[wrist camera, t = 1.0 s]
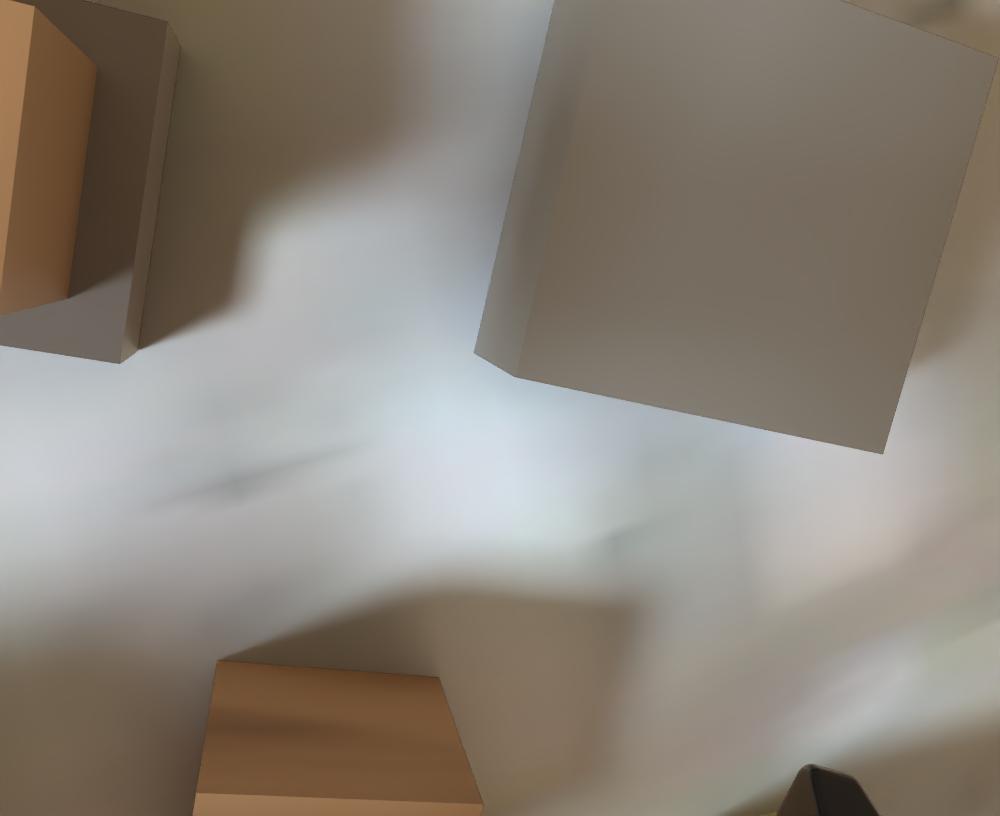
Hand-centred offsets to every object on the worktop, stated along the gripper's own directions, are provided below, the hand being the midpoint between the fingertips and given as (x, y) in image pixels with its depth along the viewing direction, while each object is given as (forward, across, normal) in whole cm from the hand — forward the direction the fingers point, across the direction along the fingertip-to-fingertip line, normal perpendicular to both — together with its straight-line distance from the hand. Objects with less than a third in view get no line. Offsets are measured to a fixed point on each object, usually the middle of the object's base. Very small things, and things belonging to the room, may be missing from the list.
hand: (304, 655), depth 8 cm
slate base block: (+15, -3, 0) cm, 15 cm away
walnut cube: (+7, +2, +12) cm, 14 cm away
